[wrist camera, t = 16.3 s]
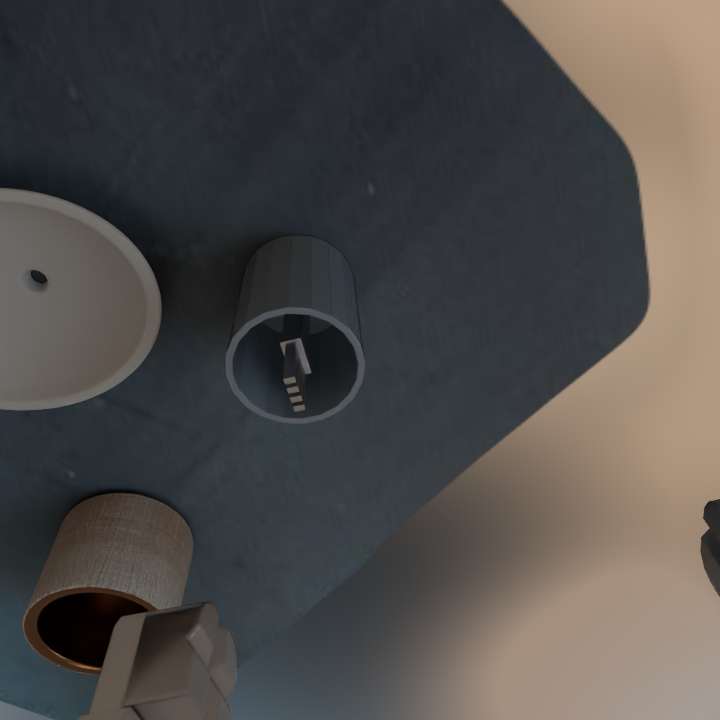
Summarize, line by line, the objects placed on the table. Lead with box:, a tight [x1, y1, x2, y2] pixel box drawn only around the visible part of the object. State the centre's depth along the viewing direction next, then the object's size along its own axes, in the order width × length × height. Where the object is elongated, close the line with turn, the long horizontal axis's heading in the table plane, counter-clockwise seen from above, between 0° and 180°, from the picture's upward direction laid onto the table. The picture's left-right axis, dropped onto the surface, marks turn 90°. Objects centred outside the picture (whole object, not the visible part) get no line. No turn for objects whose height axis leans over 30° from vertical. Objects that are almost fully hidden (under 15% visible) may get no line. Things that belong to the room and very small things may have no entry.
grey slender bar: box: [280, 314, 312, 412], centre depth 39 cm, size 1×2×12 cm, turn 13°
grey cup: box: [225, 235, 365, 424], centre depth 40 cm, size 8×8×10 cm
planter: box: [23, 493, 193, 675], centre depth 52 cm, size 11×11×10 cm
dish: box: [0, 188, 162, 410], centre depth 41 cm, size 18×14×5 cm
